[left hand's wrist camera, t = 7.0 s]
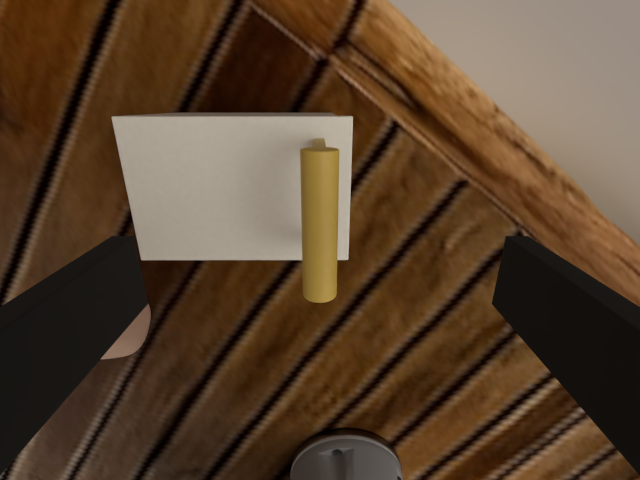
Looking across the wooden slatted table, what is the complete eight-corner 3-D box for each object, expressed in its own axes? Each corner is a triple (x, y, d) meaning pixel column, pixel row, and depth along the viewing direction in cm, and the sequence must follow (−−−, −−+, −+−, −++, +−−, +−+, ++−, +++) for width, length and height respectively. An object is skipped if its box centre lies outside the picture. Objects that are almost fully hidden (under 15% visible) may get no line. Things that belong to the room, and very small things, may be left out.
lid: (351, 115, 22) (369, 122, 14) (347, 255, 26) (360, 322, 18) (118, 116, 22) (5, 122, 14) (146, 255, 26) (69, 323, 18)
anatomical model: (129, 300, 34) (140, 390, 38) (148, 280, 37) (156, 364, 42) (-10, 289, 33) (17, 381, 37) (23, 270, 37) (44, 356, 41)
